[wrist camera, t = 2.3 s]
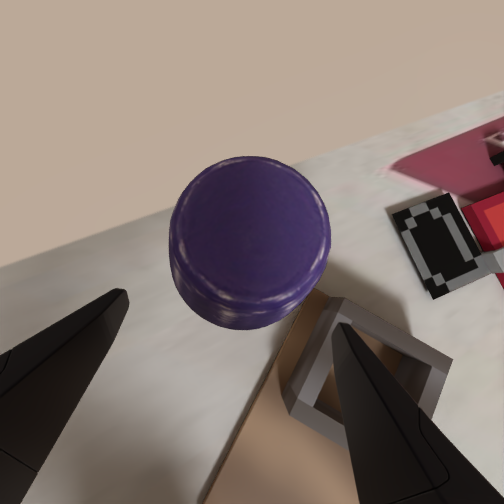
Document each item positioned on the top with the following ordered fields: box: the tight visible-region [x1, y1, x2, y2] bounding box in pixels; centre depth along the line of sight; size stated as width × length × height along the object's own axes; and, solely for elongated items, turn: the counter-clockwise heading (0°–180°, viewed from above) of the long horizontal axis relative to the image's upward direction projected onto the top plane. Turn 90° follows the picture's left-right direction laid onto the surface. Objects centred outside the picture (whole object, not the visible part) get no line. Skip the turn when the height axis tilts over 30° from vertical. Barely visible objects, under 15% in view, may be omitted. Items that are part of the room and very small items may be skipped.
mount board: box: [202, 288, 453, 504], centre depth 17 cm, size 19×12×4 cm, turn 150°
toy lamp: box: [169, 156, 331, 330], centre depth 12 cm, size 5×5×17 cm
